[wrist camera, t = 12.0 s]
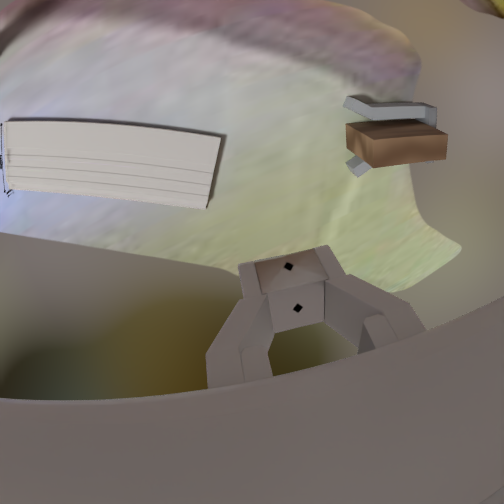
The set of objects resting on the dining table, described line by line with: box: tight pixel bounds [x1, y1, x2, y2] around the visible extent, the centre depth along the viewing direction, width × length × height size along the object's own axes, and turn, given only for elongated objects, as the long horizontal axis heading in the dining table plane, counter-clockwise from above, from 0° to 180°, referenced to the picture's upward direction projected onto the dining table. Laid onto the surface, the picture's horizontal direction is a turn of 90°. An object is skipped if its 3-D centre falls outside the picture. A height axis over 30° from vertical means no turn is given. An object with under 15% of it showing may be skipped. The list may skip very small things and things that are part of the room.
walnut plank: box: [346, 119, 448, 168], centre depth 36 cm, size 4×12×8 cm, turn 99°
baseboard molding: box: [0, 121, 221, 209], centre depth 36 cm, size 31×3×12 cm
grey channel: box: [343, 96, 437, 177], centre depth 38 cm, size 11×14×4 cm
